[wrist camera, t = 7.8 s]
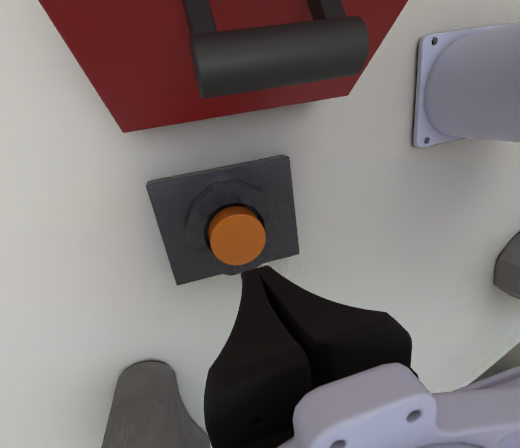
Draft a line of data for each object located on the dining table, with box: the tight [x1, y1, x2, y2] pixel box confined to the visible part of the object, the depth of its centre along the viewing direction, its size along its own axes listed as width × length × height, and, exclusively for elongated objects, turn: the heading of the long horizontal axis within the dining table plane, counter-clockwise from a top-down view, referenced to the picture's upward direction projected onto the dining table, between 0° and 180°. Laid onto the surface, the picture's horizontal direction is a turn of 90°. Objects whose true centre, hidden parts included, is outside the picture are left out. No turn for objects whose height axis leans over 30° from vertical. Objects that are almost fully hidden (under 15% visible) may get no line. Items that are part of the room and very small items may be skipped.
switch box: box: [146, 155, 299, 285], centre depth 21 cm, size 10×8×3 cm
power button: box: [208, 206, 266, 265], centre depth 19 cm, size 4×4×2 cm
